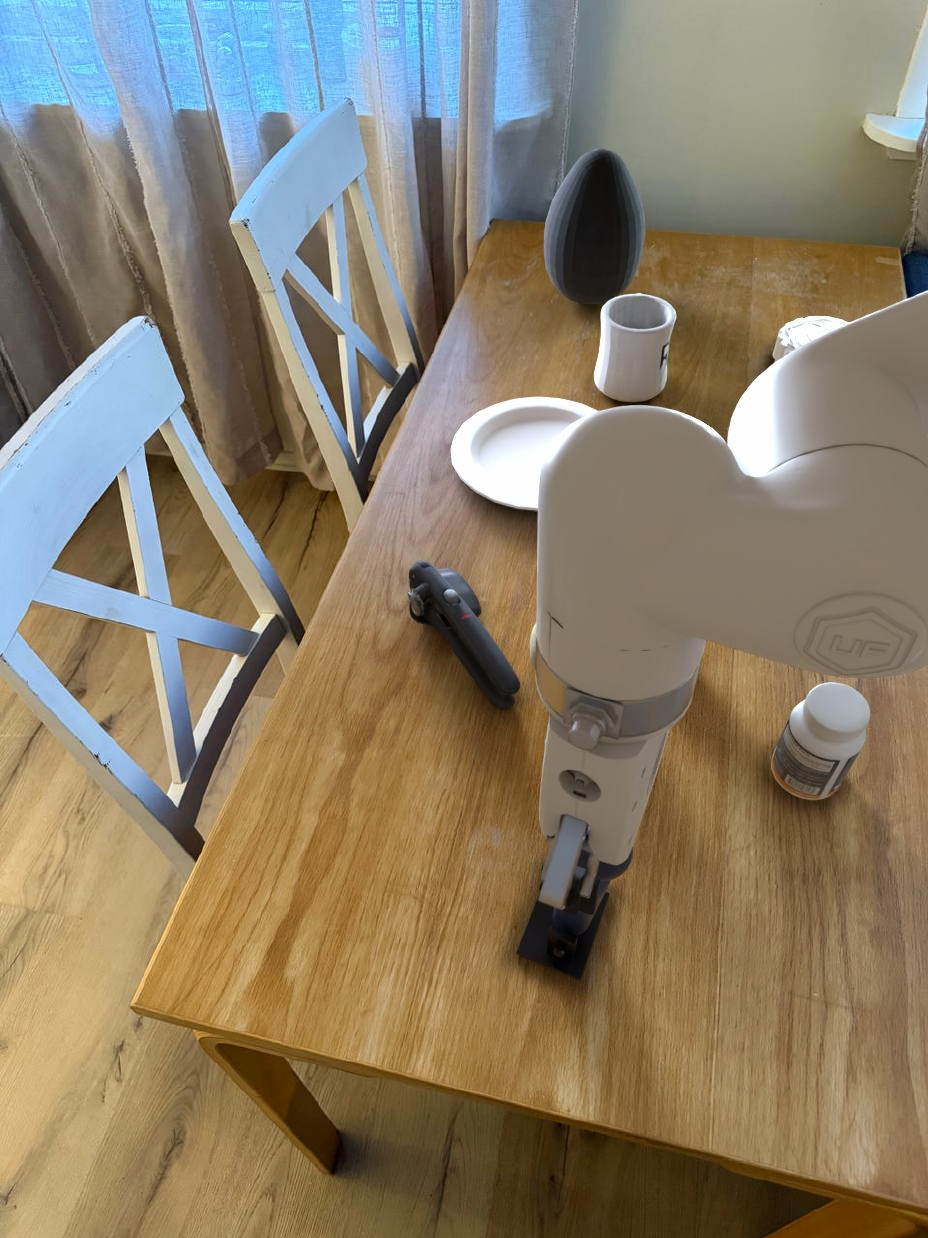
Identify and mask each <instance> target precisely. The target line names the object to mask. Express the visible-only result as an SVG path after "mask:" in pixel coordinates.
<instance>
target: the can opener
mask: <svg viewBox="0 0 928 1238" xmlns="http://www.w3.org/2000/svg"><path fill="white" fill-rule="evenodd" d="M408 585H409V590H410V592H409V591H407V592H406V594H407V596H408V600H407V603H409V604H408V612H409V614H410V617H411V618H412V619H413V621H415V622H416V623H418V624H422V625H425V626H429V627H432V628H434V629H435V630H436V631H437V632H439V634H441V636H442V637H443V638H444V640H445V641H446V642H447V644H449V646H450V648H451V649H452V651H453V652H454V654H455V656H456V657H457V659H458V660H459V661H460V663H461V664H462V666H463V667H464V669H465V671H466V672H467V673H468V675H469V676H470V677H471V679H472V680H473V681H474V682H475V684H476V685H477V686H478V688H479V689H480V690H481V691H482V692H483V694H484V695H485V696H486V697H487V698H488V700H490V701H491V704H493V705H494V706H496V707H497V708H498V709H501V710H508V709H511V708H513V706H514V705H515V702H516V699H515V694H517V693H518V692H519V691H520V689H521V681H520V679H519V677H518V675H517V674H516V672H515V670H514V668H513V667H512V665H511V664H510V662H509V661H508V659H507V657H506V656H505V654H504V653H503V651H502V650H501V648H500V647H499V645H498V644H497V642H496V641H495V639H494V638H493V637H492V635H491V634H490V633H489V631H488V630H487V629H486V627H485V626H484V624H483V623H482V622H481V620H480V619H479V618H478V617H479V616H480V615H482V606H481V604H480V601H479V598H478V596H477V595H476V593H475V591H474V590H473V588H472V587H471V585H470V584H469V583H468V581H467V580H466V579H465V578H464V577H463V576H462V575H461V574H460V573H459V572H458V571H456V570H454V569H453V568H450V567H446V568H445V567H443V568H436V567H435V566H434V565H433V564H432V563H431V562H429V561H427V560H418V561H416V562H414V563H413V564H412V565H411V566H410V567H409V569H408Z"/></svg>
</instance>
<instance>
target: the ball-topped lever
mask: <svg viewBox="0 0 928 1238" xmlns="http://www.w3.org/2000/svg"><path fill="white" fill-rule="evenodd" d="M589 832H590V826H589V828H588V831H587V834H589ZM589 856H590V854H588V853H585V852H582V851H581V854H580V857H579V860H578V863H577V866H579V867H581V868H584V869H586V867H587V863H588V859H589ZM633 857H634V846H633V847H632V849H631V852H630V854H629V856H628V858H627V860H626V861H624V862H623V863H621V864H619V865H612V864H608V863H605V862H602V861H600V863H599V867H598V870H597V874H596V875H597V876H598V877H599V879H601V880H600V887H599V893H598V900H597V906H596V909H595V912H596V910H597V908H598V906H599V904H600V902H601V900H602V898H603V896H604V894H605V892H607V890H608V887H609V885H610V884H611V881H613V880H615V879H617V878H620V877H621V876H622V875H623V874H624V873H625V872H627V870H628V869H629V867H630V865H631V864H632V860H633ZM595 912H594V914H595ZM594 914H593V915H589V914H586V913H583V912H581V911H578V913H577V914H568V913H566V912H563V911H560V910H558V909H556V908H555V907H554V909H553V921H554V924H555V926H556V927H557V928H560V929H562V930H564V931H567V932H569V933H572V934H574V935H580V934H582V933H583V932H584V931H586V929H587V928H588V926H589V925H590V922H591V920H592V918H593V916H594Z"/></svg>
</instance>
